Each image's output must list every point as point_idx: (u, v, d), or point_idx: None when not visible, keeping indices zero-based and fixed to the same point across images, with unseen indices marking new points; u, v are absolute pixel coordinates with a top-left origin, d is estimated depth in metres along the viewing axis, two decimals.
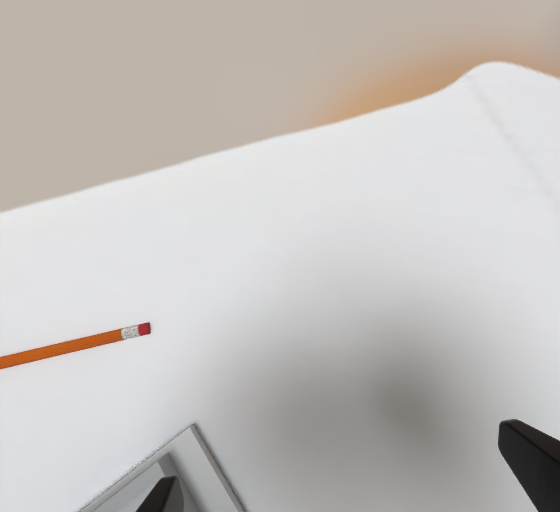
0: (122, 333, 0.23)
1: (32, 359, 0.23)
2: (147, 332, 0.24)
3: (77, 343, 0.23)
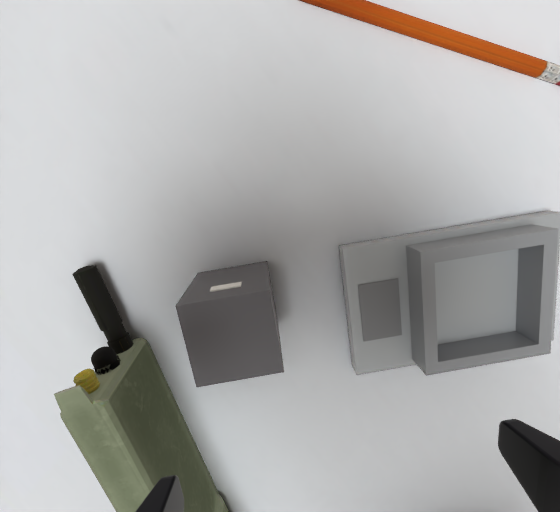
0: (547, 67, 0.18)
1: (437, 39, 0.17)
2: None
3: (496, 49, 0.17)
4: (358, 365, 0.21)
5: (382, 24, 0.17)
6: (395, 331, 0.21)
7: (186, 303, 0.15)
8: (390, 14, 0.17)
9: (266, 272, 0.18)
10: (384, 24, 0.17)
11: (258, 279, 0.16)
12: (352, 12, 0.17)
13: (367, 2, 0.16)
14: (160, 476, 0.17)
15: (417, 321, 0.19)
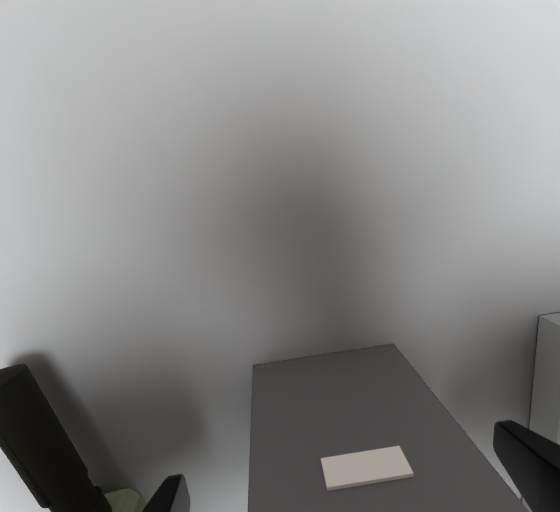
0: None
1: None
2: None
3: None
4: None
5: None
6: None
7: None
8: None
9: (433, 398, 0.07)
10: None
11: (440, 438, 0.06)
12: None
13: None
14: None
15: None
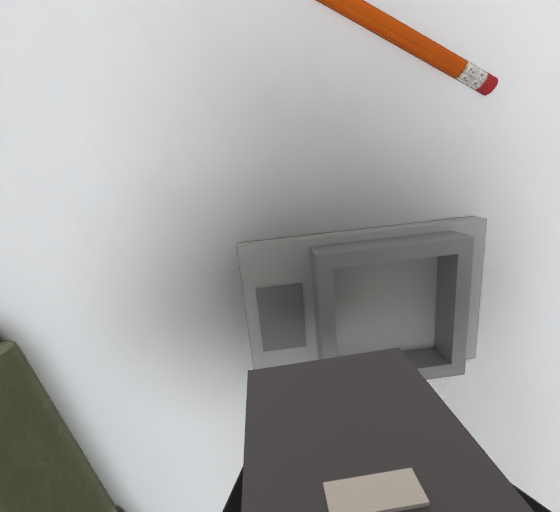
0: (467, 68, 0.16)
1: (345, 9, 0.15)
2: (489, 91, 0.16)
3: (411, 34, 0.15)
4: None
5: None
6: (299, 342, 0.18)
7: None
8: None
9: (447, 411, 0.07)
10: None
11: (457, 458, 0.06)
12: None
13: None
14: (4, 502, 0.15)
15: (318, 333, 0.17)
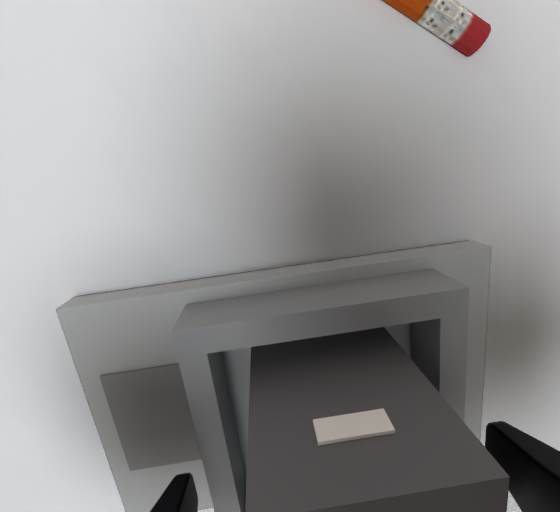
0: (435, 0, 0.09)
1: None
2: (475, 49, 0.09)
3: None
4: (129, 507, 0.12)
5: None
6: (190, 453, 0.11)
7: (274, 510, 0.05)
8: None
9: (417, 370, 0.08)
10: None
11: (421, 402, 0.07)
12: None
13: None
14: None
15: None
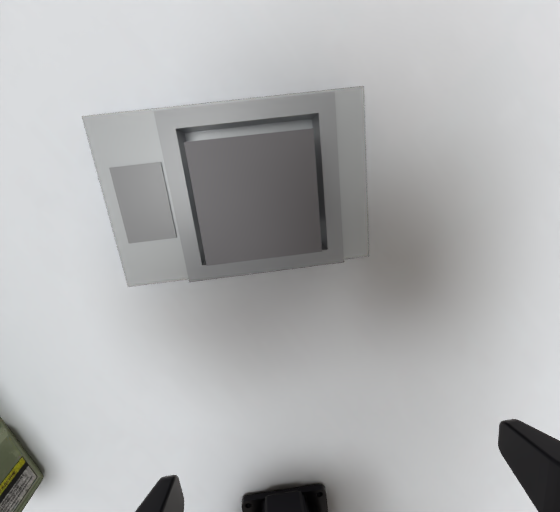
0: None
1: None
2: None
3: None
4: (127, 274, 0.17)
5: None
6: (169, 233, 0.17)
7: (198, 141, 0.11)
8: None
9: None
10: None
11: None
12: None
13: None
14: None
15: None
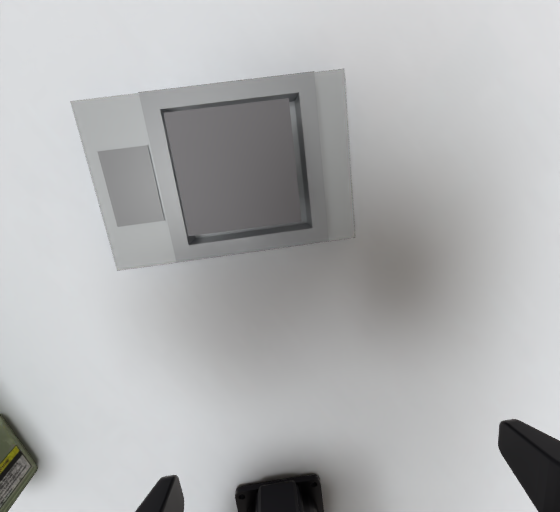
0: None
1: None
2: None
3: None
4: (117, 258, 0.18)
5: None
6: (157, 216, 0.17)
7: (178, 112, 0.11)
8: None
9: None
10: None
11: None
12: None
13: None
14: None
15: None
